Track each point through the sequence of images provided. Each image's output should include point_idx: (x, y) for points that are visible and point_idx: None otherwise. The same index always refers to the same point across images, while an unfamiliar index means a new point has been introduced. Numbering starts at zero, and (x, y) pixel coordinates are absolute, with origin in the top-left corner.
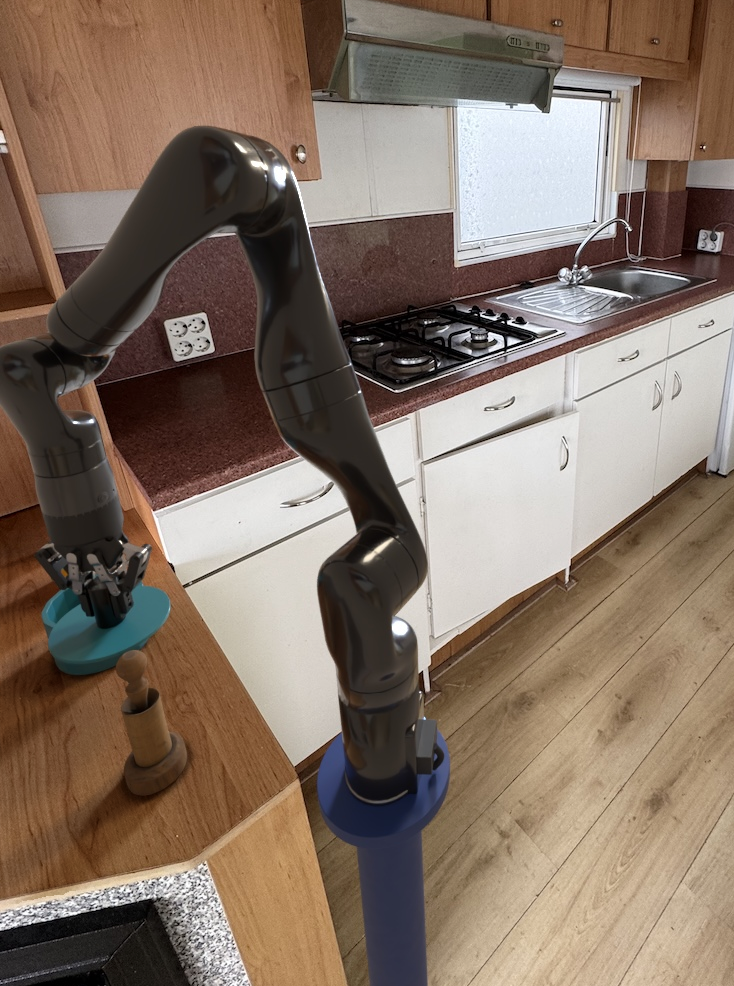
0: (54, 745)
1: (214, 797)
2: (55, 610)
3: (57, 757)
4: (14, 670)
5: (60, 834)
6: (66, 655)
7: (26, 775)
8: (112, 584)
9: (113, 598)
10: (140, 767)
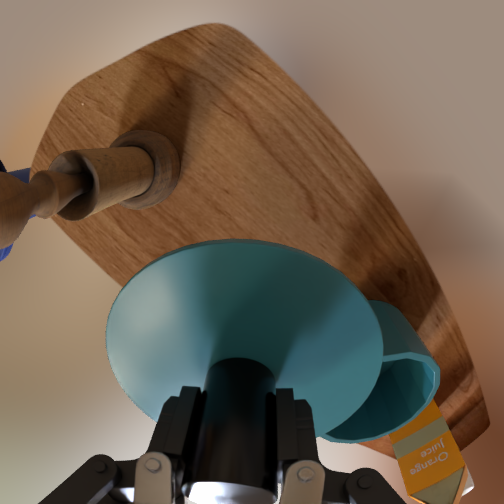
0: (322, 188)
1: (68, 150)
2: (426, 376)
3: (303, 170)
4: (441, 296)
5: (214, 73)
6: (274, 261)
7: (326, 142)
8: (144, 494)
9: (173, 444)
10: (134, 145)
